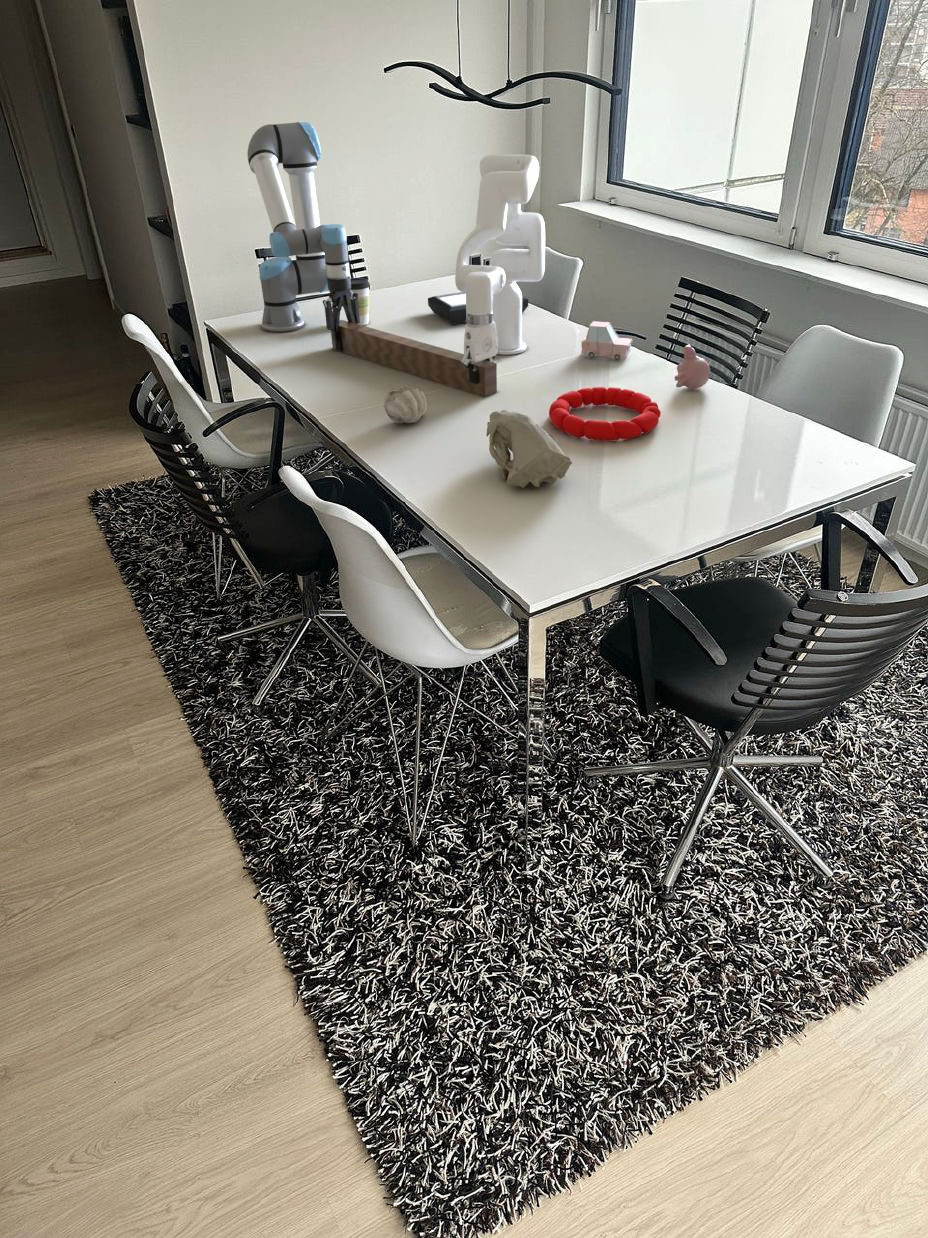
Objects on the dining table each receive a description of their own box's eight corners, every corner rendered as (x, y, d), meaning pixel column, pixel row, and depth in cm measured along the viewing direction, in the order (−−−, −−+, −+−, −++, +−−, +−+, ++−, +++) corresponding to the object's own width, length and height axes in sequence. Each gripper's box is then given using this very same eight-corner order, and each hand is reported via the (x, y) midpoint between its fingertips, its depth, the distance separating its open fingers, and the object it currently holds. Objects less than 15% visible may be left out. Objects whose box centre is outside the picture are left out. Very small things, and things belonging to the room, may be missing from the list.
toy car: (626, 362, 283) (628, 330, 277) (579, 358, 288) (580, 327, 282) (632, 353, 290) (634, 322, 285) (586, 349, 295) (588, 318, 289)
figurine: (665, 387, 264) (669, 347, 257) (693, 380, 268) (698, 340, 261) (686, 396, 257) (690, 355, 250) (714, 388, 262) (720, 348, 255)
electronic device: (448, 308, 317) (427, 295, 332) (449, 326, 320) (428, 312, 335) (528, 296, 327) (504, 284, 342) (528, 313, 330) (504, 301, 346)
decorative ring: (589, 435, 224) (684, 402, 234) (527, 398, 247) (617, 369, 256) (589, 461, 229) (683, 427, 238) (529, 422, 251) (617, 393, 260)
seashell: (375, 421, 248) (372, 387, 243) (423, 410, 254) (421, 376, 248) (391, 434, 241) (388, 398, 235) (439, 422, 246) (438, 387, 241)
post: (332, 348, 303) (329, 322, 298) (344, 345, 306) (341, 319, 301) (485, 396, 262) (484, 367, 257) (496, 392, 265) (496, 363, 260)
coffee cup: (372, 326, 323) (368, 283, 314) (345, 327, 323) (340, 284, 315) (374, 318, 331) (371, 276, 322) (348, 319, 331) (344, 277, 323)
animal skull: (496, 517, 219) (521, 479, 201) (463, 429, 225) (484, 384, 207) (557, 503, 225) (586, 465, 206) (523, 417, 231) (549, 373, 212)
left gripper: (323, 284, 282) (332, 357, 295) (367, 272, 292) (373, 343, 305) (309, 280, 286) (318, 352, 299) (352, 269, 297) (359, 339, 310)
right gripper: (468, 327, 247) (470, 391, 257) (509, 313, 257) (509, 375, 267) (449, 322, 251) (451, 385, 261) (490, 309, 261) (490, 370, 271)
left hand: (346, 347), depth 302 cm, fingers closed on post, 5 cm apart
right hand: (480, 379), depth 264 cm, fingers closed on post, 5 cm apart
